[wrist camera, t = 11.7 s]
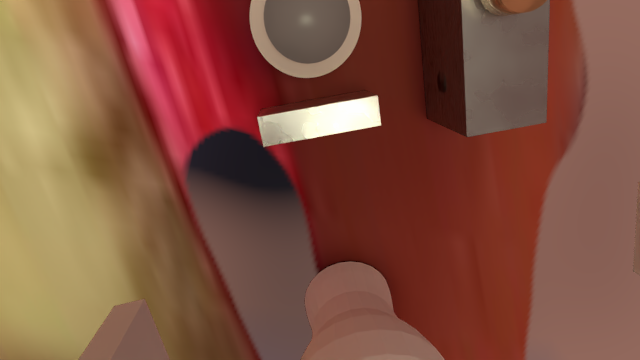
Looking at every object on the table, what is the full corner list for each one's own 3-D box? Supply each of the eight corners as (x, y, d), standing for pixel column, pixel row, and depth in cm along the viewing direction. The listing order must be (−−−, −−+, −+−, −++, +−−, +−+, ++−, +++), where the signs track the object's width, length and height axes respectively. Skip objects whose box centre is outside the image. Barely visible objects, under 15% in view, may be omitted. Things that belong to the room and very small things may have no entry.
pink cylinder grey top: (268, 78, 28) (261, 88, 20) (249, -12, 26) (234, -38, 18) (348, 64, 28) (372, 68, 20) (336, -26, 26) (357, -59, 18)
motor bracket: (269, 147, 30) (262, 185, 21) (217, -94, 24) (180, -173, 16) (488, 107, 30) (569, 128, 22) (483, -138, 25) (586, -237, 16)
